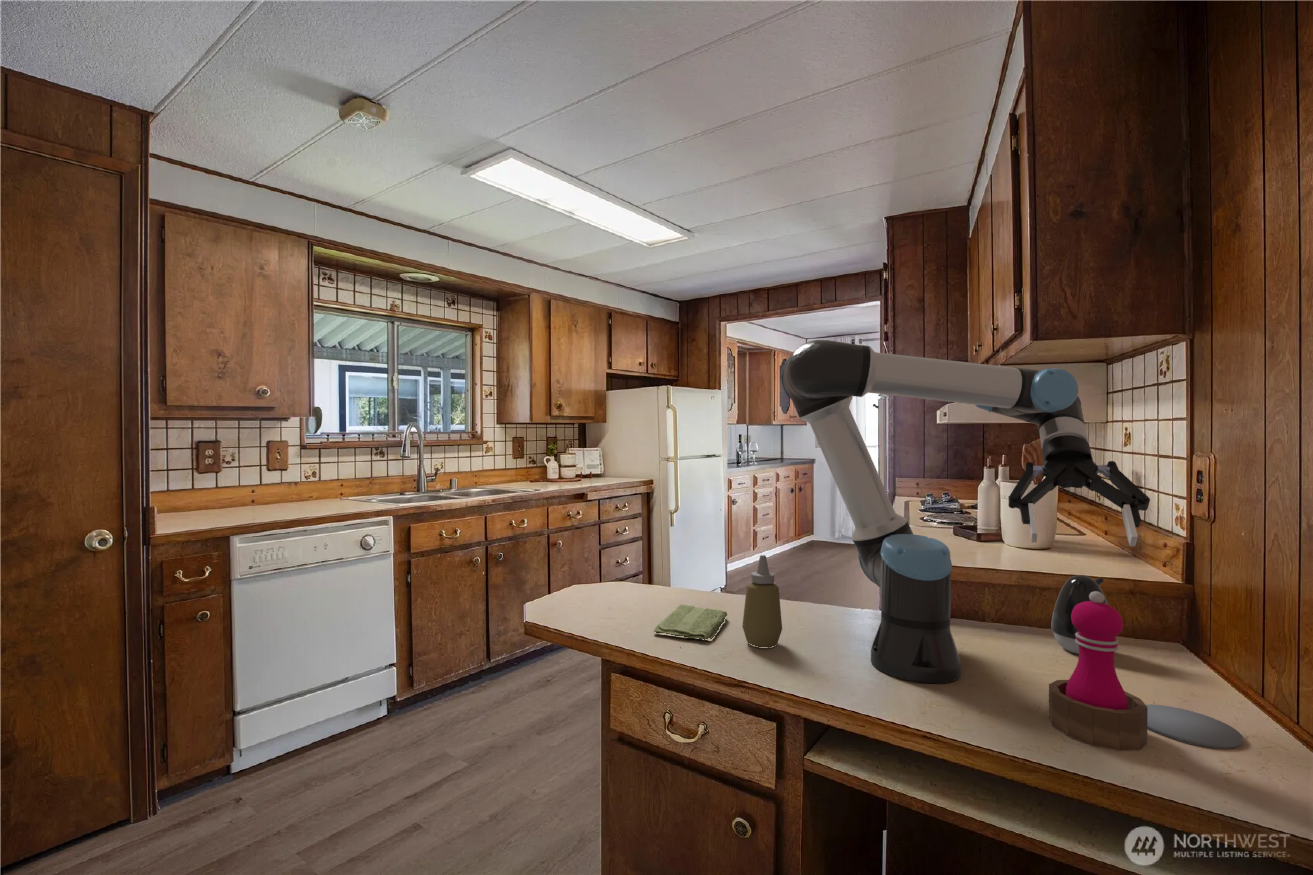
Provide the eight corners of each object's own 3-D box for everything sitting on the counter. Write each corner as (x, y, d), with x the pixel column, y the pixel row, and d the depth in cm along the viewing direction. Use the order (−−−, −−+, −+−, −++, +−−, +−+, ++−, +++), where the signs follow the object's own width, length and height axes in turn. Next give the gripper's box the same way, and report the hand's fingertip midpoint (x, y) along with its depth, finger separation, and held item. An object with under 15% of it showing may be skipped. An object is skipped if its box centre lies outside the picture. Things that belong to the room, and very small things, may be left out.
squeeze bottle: (737, 648, 116) (738, 557, 116) (747, 635, 124) (747, 550, 124) (778, 654, 113) (779, 561, 113) (785, 640, 120) (786, 553, 121)
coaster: (1119, 721, 87) (1119, 717, 87) (1146, 701, 94) (1146, 698, 94) (1230, 758, 77) (1230, 753, 77) (1251, 732, 84) (1252, 728, 84)
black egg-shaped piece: (1128, 658, 113) (1128, 579, 113) (1088, 663, 110) (1088, 582, 110) (1077, 640, 123) (1077, 568, 123) (1038, 645, 120) (1039, 571, 120)
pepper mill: (1139, 745, 80) (1140, 599, 80) (1080, 739, 81) (1081, 596, 81) (1110, 720, 87) (1110, 586, 87) (1056, 715, 88) (1057, 584, 89)
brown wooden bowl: (1036, 724, 86) (1036, 690, 86) (1067, 705, 92) (1068, 674, 92) (1129, 758, 77) (1129, 720, 77) (1156, 735, 83) (1157, 700, 83)
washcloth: (651, 638, 123) (651, 623, 123) (678, 615, 139) (678, 601, 139) (711, 646, 118) (711, 630, 118) (731, 621, 134) (731, 607, 135)
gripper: (1145, 458, 108) (1174, 556, 94) (989, 460, 119) (996, 548, 106) (1152, 430, 103) (1184, 529, 90) (989, 435, 115) (996, 524, 101)
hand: (1082, 539), depth 98 cm, fingers open, 13 cm apart
